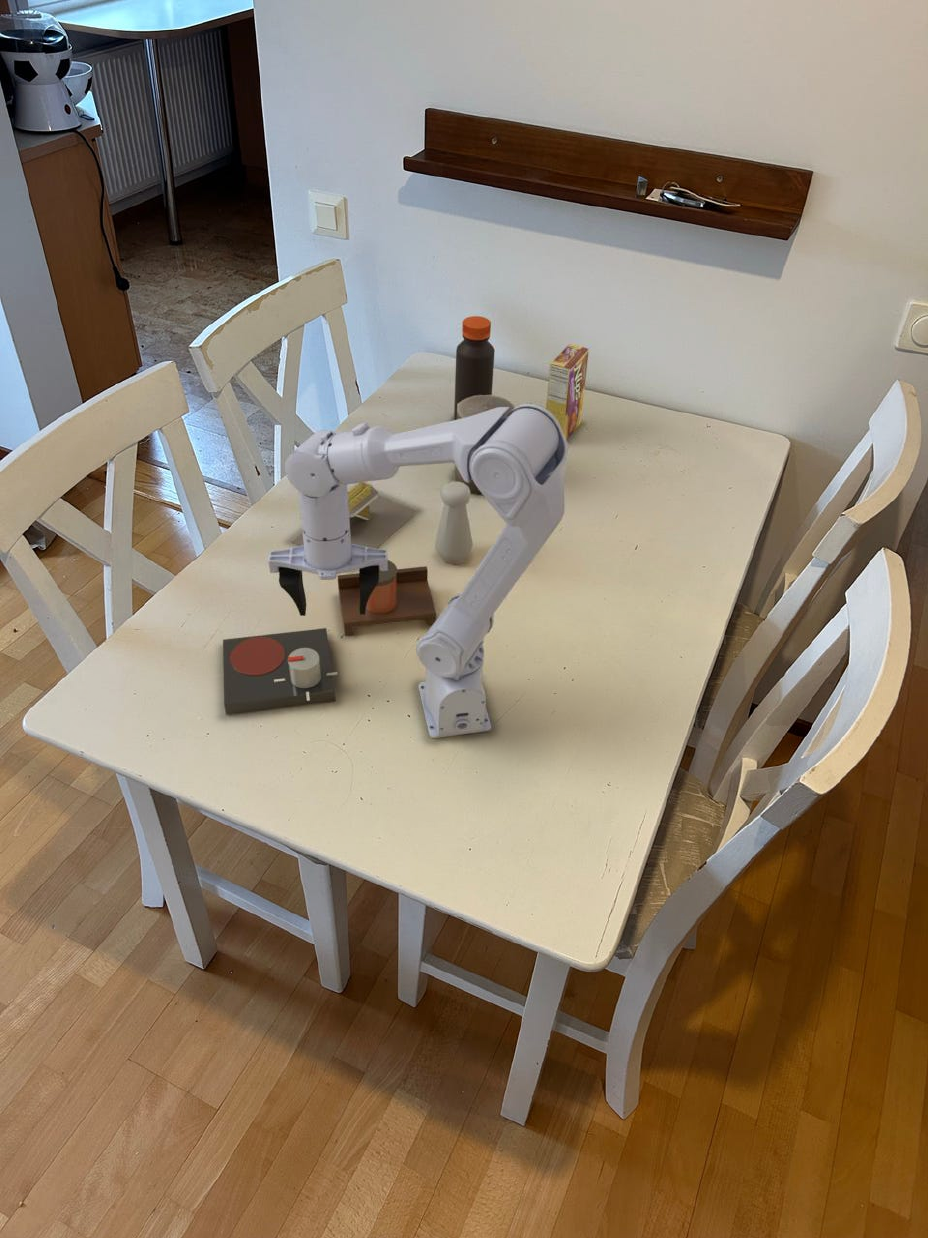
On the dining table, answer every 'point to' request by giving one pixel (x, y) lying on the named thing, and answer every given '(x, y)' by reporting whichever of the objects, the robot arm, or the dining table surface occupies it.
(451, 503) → the salt shaker
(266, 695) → the hob
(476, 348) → the bottle
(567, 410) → the candy box
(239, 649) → the disc
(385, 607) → the jar
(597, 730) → the dining table surface
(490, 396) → the pillar candle
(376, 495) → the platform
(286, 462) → the robot arm
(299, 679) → the hob knob
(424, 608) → the spice shelf
